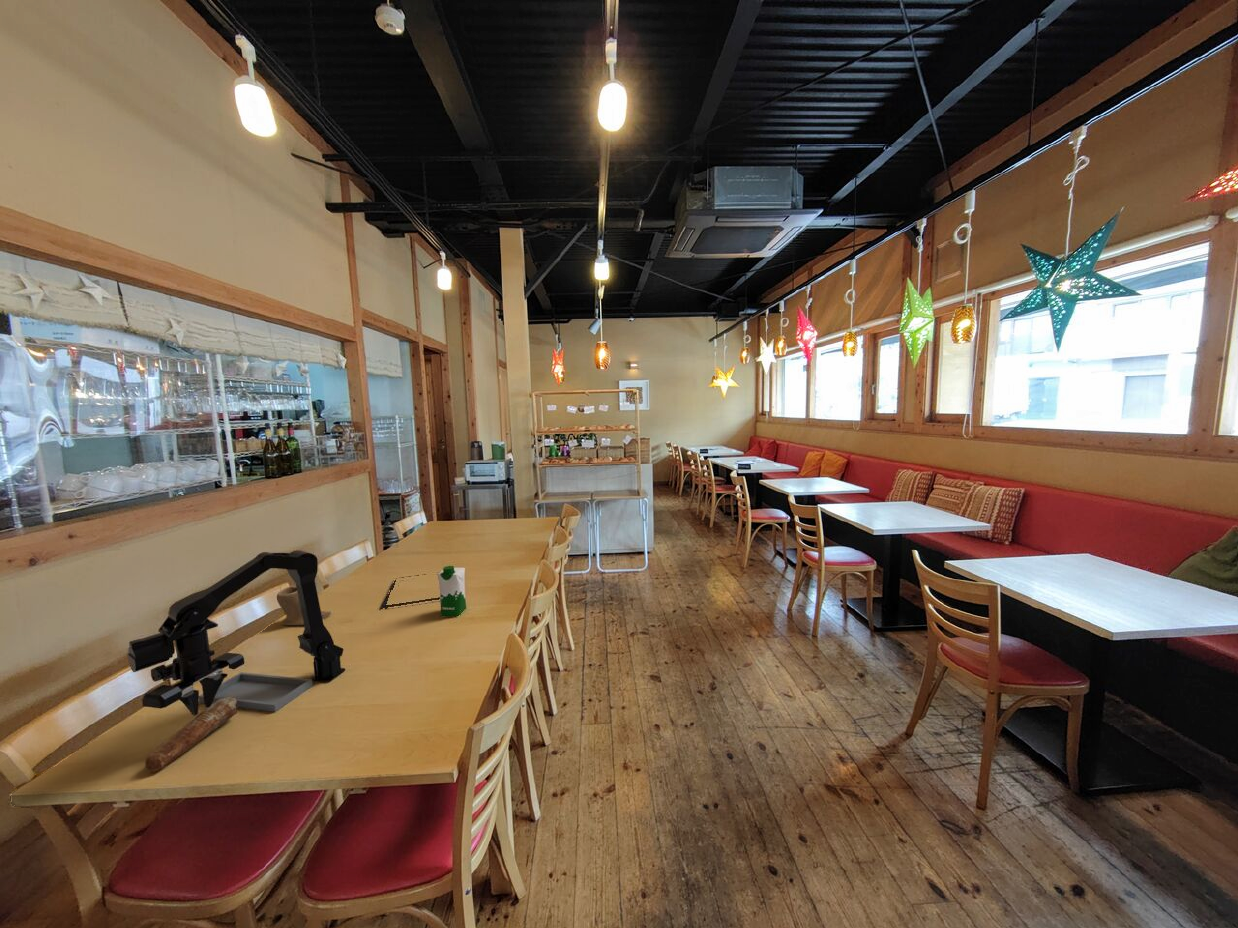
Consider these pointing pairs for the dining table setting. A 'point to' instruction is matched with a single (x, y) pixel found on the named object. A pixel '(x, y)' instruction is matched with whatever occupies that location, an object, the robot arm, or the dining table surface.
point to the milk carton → (452, 591)
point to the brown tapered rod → (192, 733)
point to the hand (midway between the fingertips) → (201, 710)
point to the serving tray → (261, 691)
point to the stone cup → (293, 606)
